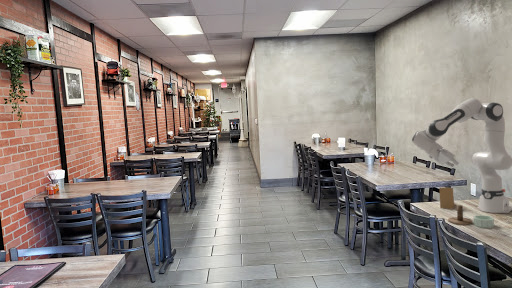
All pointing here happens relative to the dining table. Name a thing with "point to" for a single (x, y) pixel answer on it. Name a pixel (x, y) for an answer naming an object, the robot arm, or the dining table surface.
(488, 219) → the celadon bowl
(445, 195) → the sandwich container
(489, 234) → the dining table surface
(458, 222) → the walnut lid
